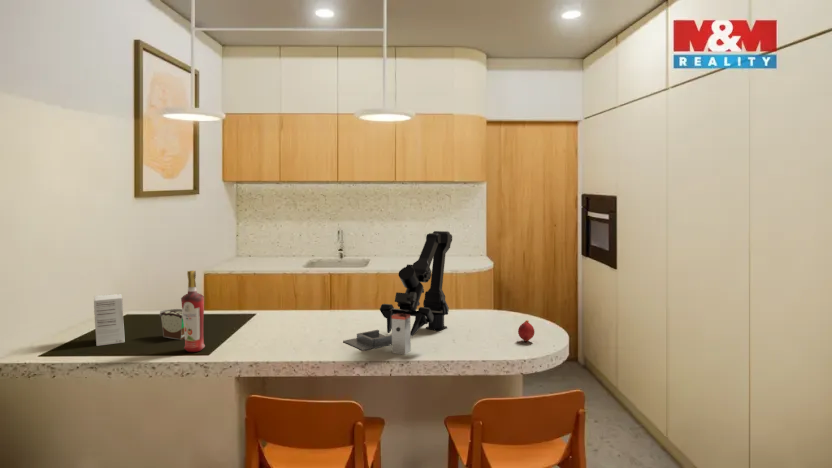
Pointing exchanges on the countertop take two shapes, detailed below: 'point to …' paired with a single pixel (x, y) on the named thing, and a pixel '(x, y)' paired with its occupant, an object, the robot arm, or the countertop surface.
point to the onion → (526, 331)
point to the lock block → (401, 333)
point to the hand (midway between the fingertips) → (399, 334)
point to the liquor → (193, 316)
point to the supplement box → (109, 319)
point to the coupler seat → (369, 340)
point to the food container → (172, 323)
